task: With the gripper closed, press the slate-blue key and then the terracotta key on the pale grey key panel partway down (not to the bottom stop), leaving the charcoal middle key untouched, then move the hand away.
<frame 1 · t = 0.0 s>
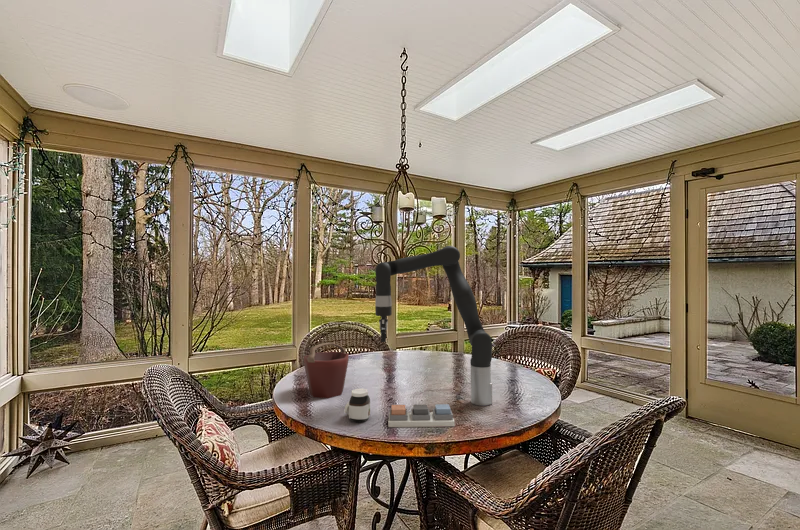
hand: (383, 340, 178), 29 cm above the table, tool pointing down, fingers open, 8 cm apart
charcoal key: (420, 409, 156), point 5 cm above the table, slide at 0.0 cm
bucket: (325, 393, 194), on the table
key panel: (420, 421, 156), on the table
slate key: (442, 409, 156), point 5 cm above the table, slide at 0.0 cm
terracotta key: (398, 410, 156), point 5 cm above the table, slide at 0.0 cm
spread jar: (356, 418, 160), on the table
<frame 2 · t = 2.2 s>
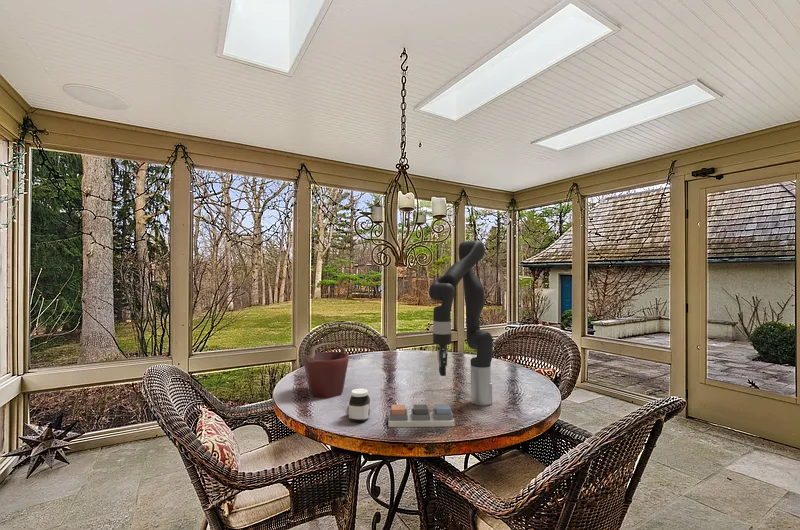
hand: (442, 374, 156), 19 cm above the table, tool pointing down, fingers open, 3 cm apart
nothing on the table moved.
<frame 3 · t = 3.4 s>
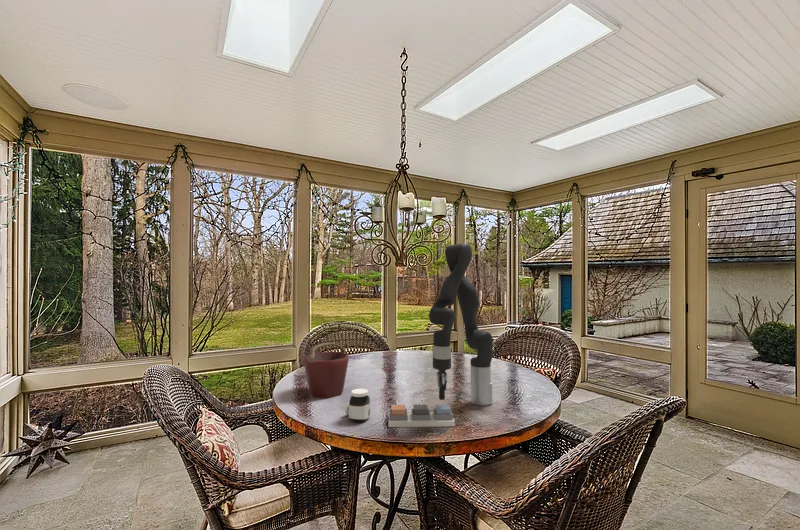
hand: (441, 399, 156), 9 cm above the table, tool pointing down, fingers closed
nothing on the table moved.
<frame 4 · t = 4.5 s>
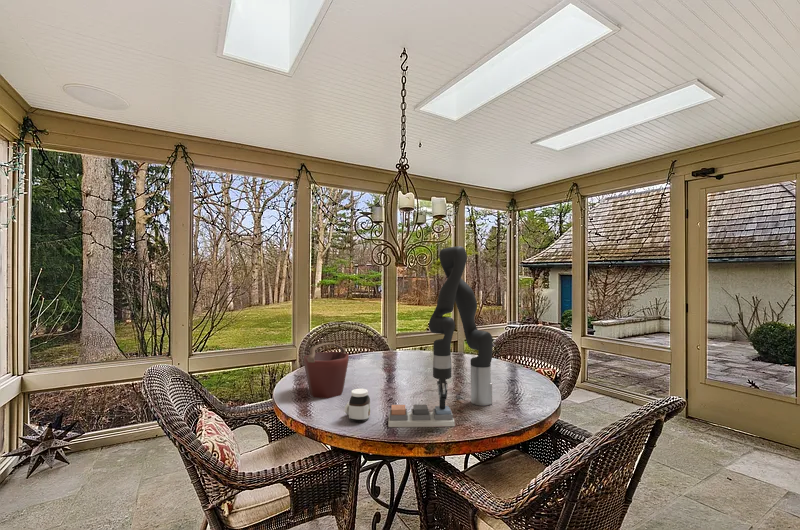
hand: (442, 408, 156), 5 cm above the table, tool pointing down, fingers closed
slate key: (442, 411, 156), point 4 cm above the table, slide at 0.7 cm, touching gripper
everything else where it was.
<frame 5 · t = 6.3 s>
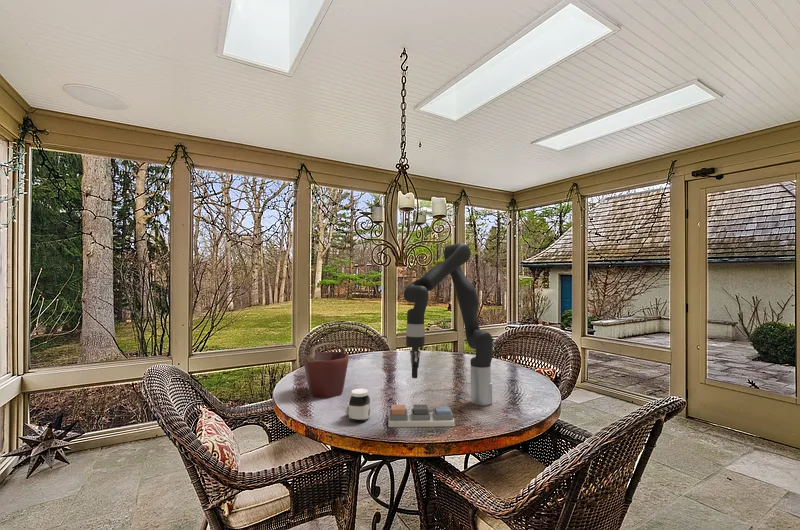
hand: (414, 377, 155), 18 cm above the table, tool pointing down, fingers closed
slate key: (442, 411, 156), point 4 cm above the table, slide at 0.8 cm
everything else where it was.
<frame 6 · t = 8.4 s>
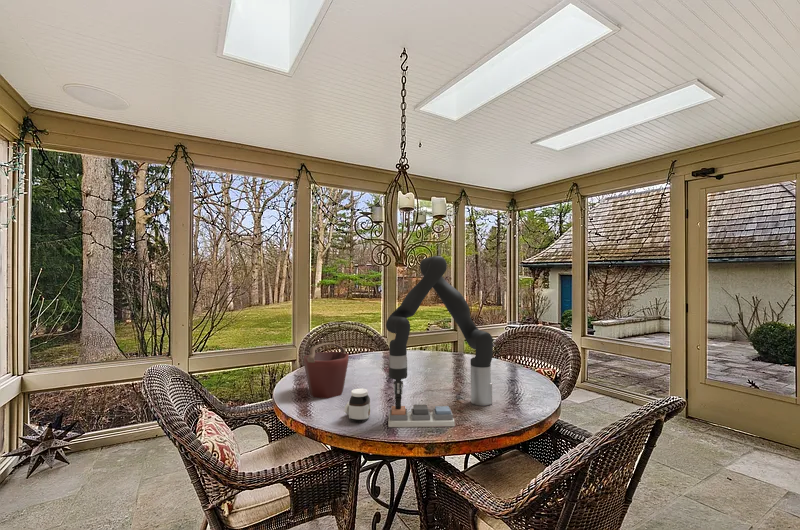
hand: (398, 408, 156), 5 cm above the table, tool pointing down, fingers closed
terracotta key: (398, 411, 156), point 4 cm above the table, slide at 0.5 cm, touching gripper
everything else where it was.
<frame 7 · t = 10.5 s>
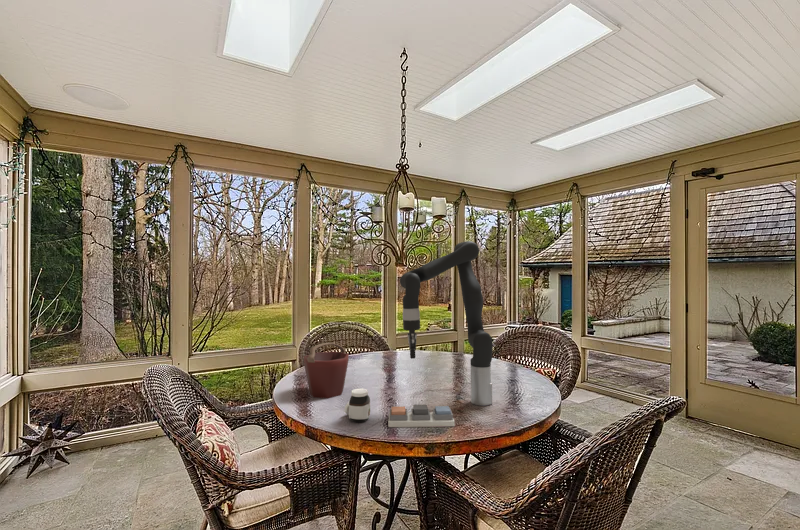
hand: (412, 358, 168), 23 cm above the table, tool pointing down, fingers closed
terracotta key: (398, 411, 156), point 4 cm above the table, slide at 0.7 cm
everything else where it was.
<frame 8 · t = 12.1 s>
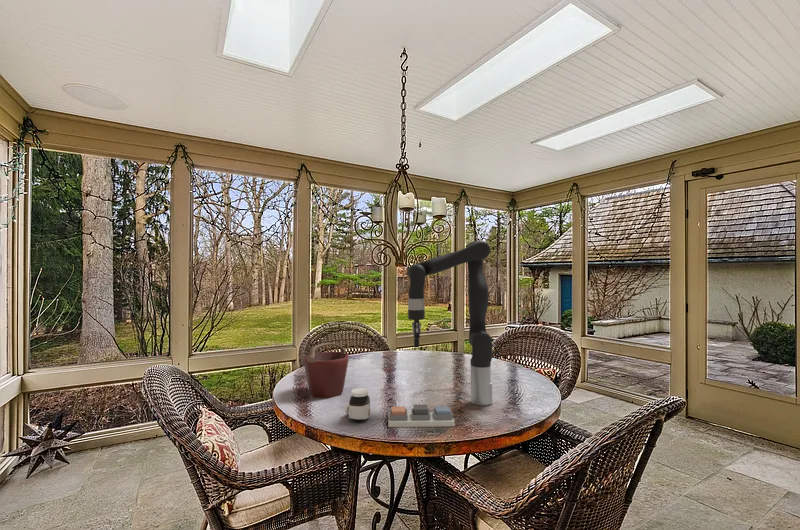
hand: (416, 346, 173), 27 cm above the table, tool pointing down, fingers closed
nothing on the table moved.
at the end: slate key slide at 0.8 cm; terracotta key slide at 0.7 cm; charcoal key slide at 0.0 cm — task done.
